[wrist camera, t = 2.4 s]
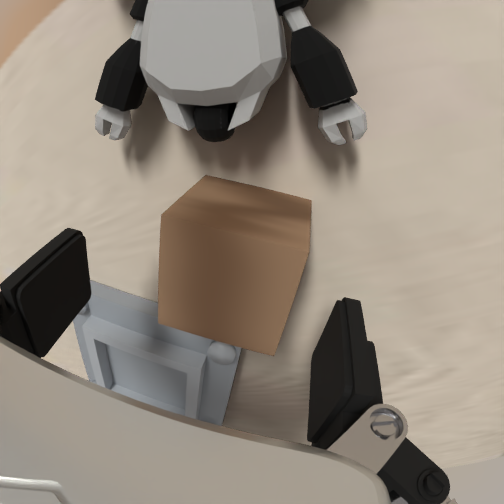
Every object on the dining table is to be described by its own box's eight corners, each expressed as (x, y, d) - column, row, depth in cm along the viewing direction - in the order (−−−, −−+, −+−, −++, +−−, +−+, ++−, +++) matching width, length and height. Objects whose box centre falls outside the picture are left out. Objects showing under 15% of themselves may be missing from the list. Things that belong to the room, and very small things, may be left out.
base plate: (246, 328, 19) (237, 357, 17) (222, 423, 25) (215, 446, 23) (75, 274, 20) (55, 294, 18) (97, 379, 26) (85, 398, 24)
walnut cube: (311, 199, 15) (309, 251, 10) (285, 287, 17) (273, 356, 13) (206, 174, 15) (161, 214, 11) (194, 263, 17) (158, 323, 13)
